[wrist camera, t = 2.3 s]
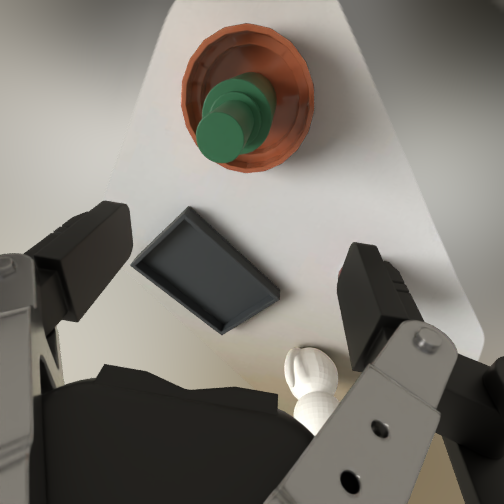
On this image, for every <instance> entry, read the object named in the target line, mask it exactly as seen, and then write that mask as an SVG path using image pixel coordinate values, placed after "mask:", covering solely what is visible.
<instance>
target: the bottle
mask: <svg viewBox="0 0 504 504" xmlns="http://www.w3.org/2000/svg"><path fill="white" fill-rule="evenodd" d="M276 104H277V97H276V92H275V89H274V87H273V85H272V84H271V82H270V81H269V80H268V79H267V78H266V77H265V76H263V75H261V74H259V73H255V72H247V73H243V74H241V75H238V76H235V77H233V78H230V79H227V80H225V81H222V82H220V83H219V84H217V85H216V86H214V87H213V88H212V89H211V91H210V92H209V93H208V95H207V97H206V99H205V101H204V104H203V109H202V120H201V121H200V122H199V124H198V126H197V130H196V141H197V145H198V147H199V149H200V151H201V152H202V154H203V155H204V156H205V157H206V158H208V159H209V160H211V161H213V162H216V163H228V162H231V161H233V160H235V159H236V158H237V157H238V156H239V155H242V154H247V153H250V152H252V151H254V150H256V149H257V148H258V147H260V146H261V145H262V144H263V143H264V141H265V140H266V138H267V136H268V134H269V131H270V128H271V124H272V121H273V117H274V113H275V110H276Z"/></svg>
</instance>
